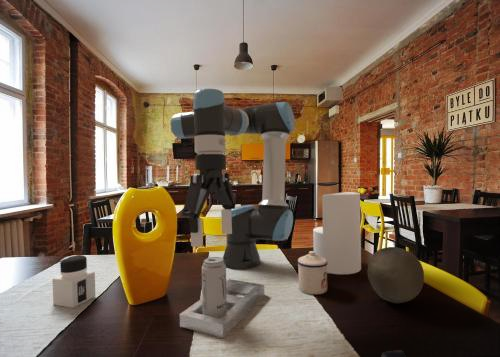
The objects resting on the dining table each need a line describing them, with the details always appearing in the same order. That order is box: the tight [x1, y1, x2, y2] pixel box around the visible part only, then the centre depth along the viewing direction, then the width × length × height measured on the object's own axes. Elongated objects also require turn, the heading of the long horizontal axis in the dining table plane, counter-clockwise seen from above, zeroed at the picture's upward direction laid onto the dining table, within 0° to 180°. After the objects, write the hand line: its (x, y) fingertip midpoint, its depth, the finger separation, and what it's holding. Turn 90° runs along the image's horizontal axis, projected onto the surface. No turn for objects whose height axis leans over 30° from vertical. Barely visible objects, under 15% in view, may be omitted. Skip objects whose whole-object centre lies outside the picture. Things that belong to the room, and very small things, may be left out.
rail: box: [179, 278, 265, 339], centre depth 76 cm, size 24×12×3 cm, turn 155°
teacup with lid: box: [297, 250, 328, 295], centre depth 88 cm, size 12×9×12 cm
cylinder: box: [312, 191, 362, 275], centre depth 107 cm, size 17×17×28 cm
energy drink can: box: [201, 256, 227, 319], centre depth 70 cm, size 6×6×15 cm
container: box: [52, 254, 96, 309], centre depth 83 cm, size 8×8×13 cm
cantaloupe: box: [366, 246, 425, 304], centre depth 77 cm, size 14×14×15 cm
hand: (213, 239), depth 70 cm, fingers open, 13 cm apart
